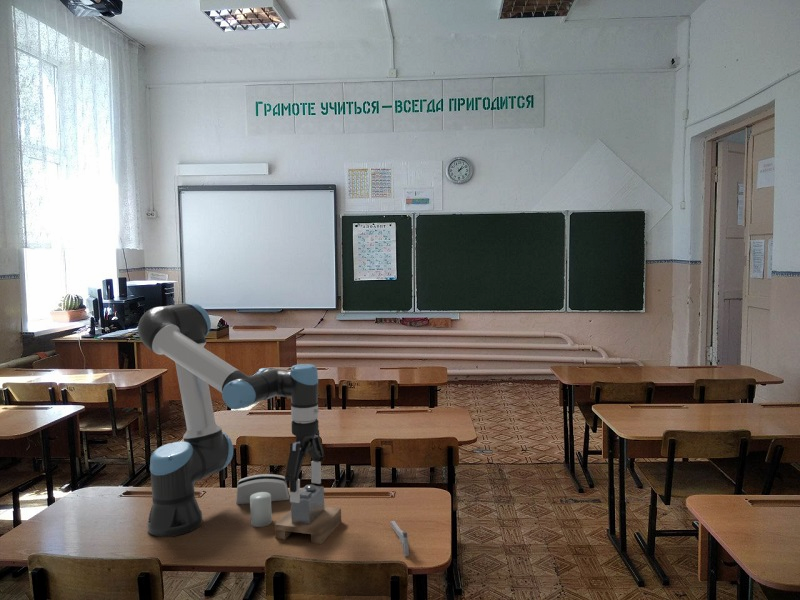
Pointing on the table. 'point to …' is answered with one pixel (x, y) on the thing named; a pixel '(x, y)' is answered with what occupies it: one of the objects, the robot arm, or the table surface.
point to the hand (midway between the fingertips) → (305, 492)
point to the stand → (317, 528)
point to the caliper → (401, 537)
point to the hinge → (262, 487)
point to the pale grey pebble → (260, 509)
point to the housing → (308, 505)
